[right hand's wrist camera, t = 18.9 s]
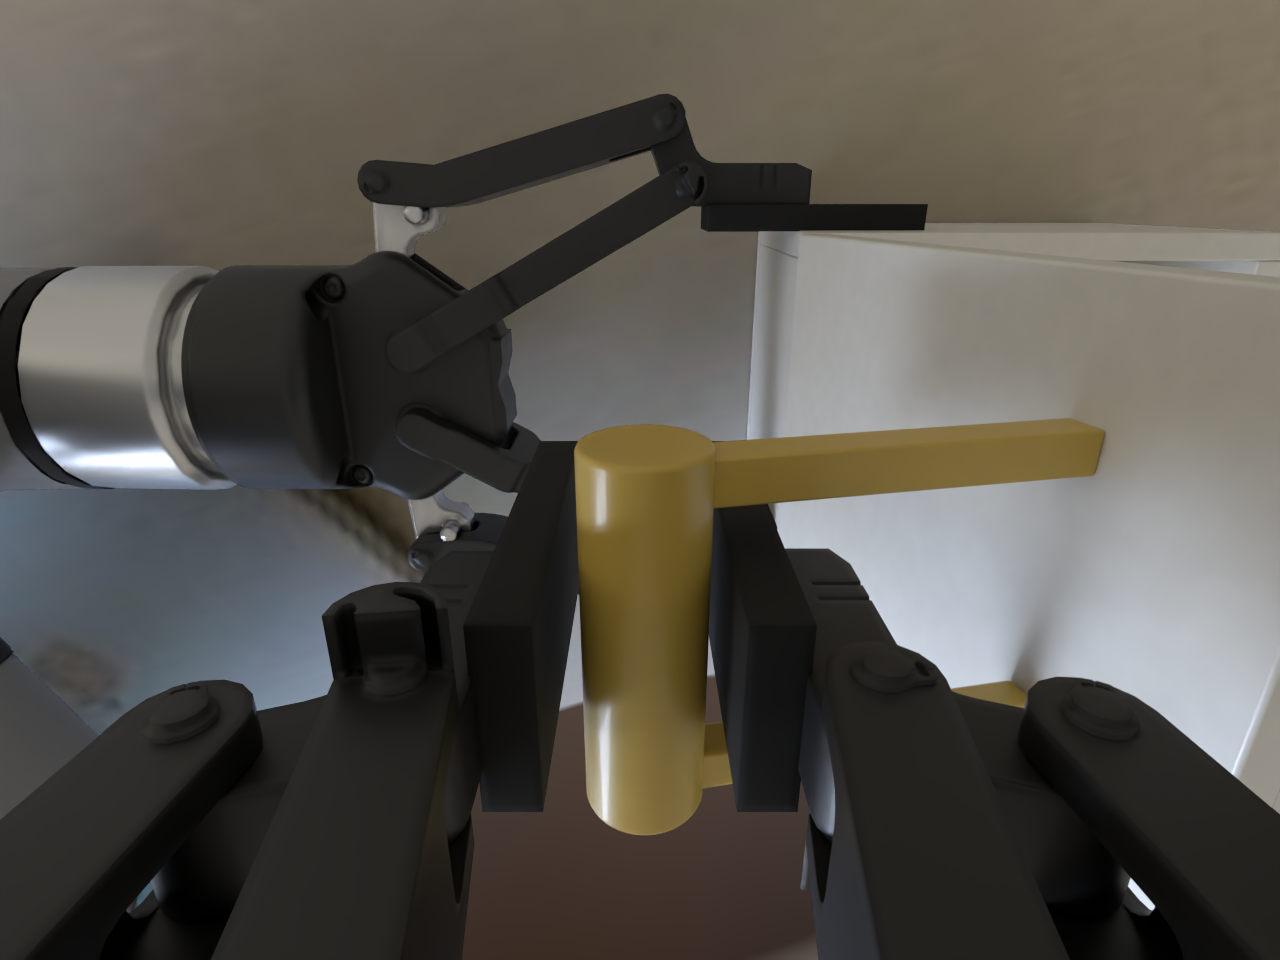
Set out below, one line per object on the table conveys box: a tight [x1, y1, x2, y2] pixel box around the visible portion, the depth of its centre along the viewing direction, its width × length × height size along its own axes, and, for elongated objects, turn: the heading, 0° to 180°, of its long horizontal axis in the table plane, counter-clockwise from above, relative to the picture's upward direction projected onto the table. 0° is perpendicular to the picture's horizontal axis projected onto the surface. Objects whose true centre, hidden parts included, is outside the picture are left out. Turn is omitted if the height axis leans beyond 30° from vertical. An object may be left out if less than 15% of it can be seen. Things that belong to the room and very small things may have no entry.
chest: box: [747, 223, 1280, 526], centre depth 26 cm, size 14×10×9 cm
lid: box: [574, 234, 1280, 911], centre depth 14 cm, size 14×10×8 cm
